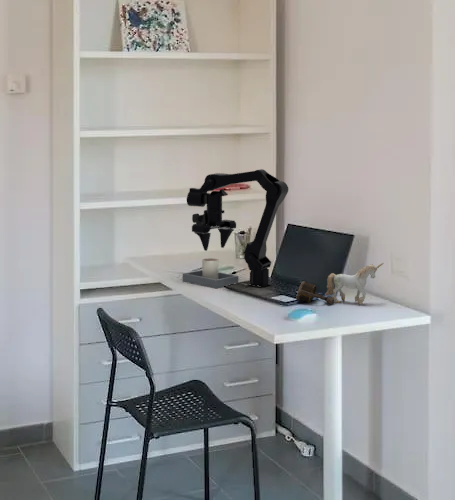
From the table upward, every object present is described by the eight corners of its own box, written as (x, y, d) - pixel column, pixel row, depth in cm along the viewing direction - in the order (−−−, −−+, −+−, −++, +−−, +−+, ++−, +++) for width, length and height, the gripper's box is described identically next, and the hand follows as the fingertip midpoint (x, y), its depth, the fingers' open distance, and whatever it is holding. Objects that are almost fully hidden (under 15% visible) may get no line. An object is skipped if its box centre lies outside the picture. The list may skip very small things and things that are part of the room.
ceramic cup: (221, 281, 329) (221, 259, 328) (210, 283, 325) (210, 261, 324) (210, 278, 333) (210, 257, 332) (198, 281, 329) (198, 259, 328)
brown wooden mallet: (307, 282, 305) (290, 280, 298) (338, 283, 297) (322, 281, 290) (306, 303, 305) (288, 301, 297) (337, 305, 297) (320, 303, 289)
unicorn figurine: (383, 306, 293) (385, 266, 291) (324, 304, 295) (325, 265, 293) (382, 301, 300) (383, 262, 298) (324, 299, 302) (325, 261, 300)
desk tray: (238, 283, 327) (238, 275, 327) (216, 288, 319) (216, 280, 319) (204, 277, 339) (204, 269, 339) (182, 281, 331) (182, 273, 331)
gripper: (215, 203, 340) (215, 243, 343) (181, 207, 327) (181, 249, 329) (237, 206, 333) (236, 247, 336) (203, 210, 319) (202, 253, 322)
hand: (214, 249), depth 331 cm, fingers open, 9 cm apart
